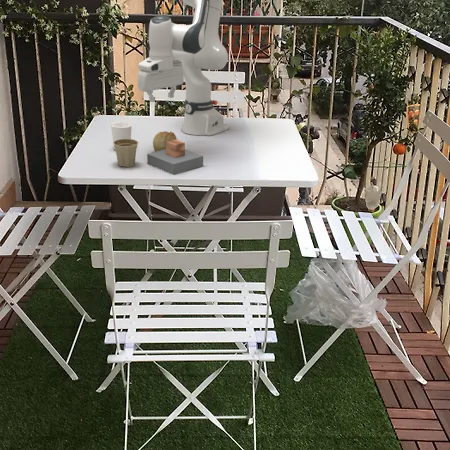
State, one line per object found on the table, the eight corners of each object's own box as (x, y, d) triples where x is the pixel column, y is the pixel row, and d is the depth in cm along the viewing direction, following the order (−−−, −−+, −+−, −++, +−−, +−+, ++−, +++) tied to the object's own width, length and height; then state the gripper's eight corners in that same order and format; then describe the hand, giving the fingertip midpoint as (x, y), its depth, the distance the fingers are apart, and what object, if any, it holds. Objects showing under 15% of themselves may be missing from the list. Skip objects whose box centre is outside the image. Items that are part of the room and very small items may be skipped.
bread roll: (177, 146, 245) (177, 127, 242) (176, 157, 232) (176, 138, 228) (154, 145, 245) (154, 126, 241) (151, 156, 231) (151, 137, 228)
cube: (176, 151, 225) (176, 139, 223) (184, 155, 222) (185, 142, 220) (166, 154, 222) (166, 141, 220) (174, 157, 219) (174, 144, 217)
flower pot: (127, 170, 216) (127, 147, 212) (108, 165, 220) (107, 142, 217) (144, 163, 223) (143, 141, 220) (125, 158, 228) (124, 137, 224)
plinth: (176, 155, 233) (177, 146, 231) (203, 165, 224) (203, 155, 222) (147, 163, 223) (147, 153, 222) (173, 174, 214) (173, 164, 212)
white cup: (128, 152, 234) (127, 128, 230) (109, 150, 235) (108, 126, 231) (134, 147, 241) (134, 123, 237) (116, 145, 242) (115, 121, 238)
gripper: (176, 58, 227) (176, 93, 233) (134, 64, 213) (135, 102, 220) (187, 60, 223) (187, 96, 229) (145, 67, 210) (146, 105, 216)
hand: (161, 99), depth 224 cm, fingers open, 8 cm apart
